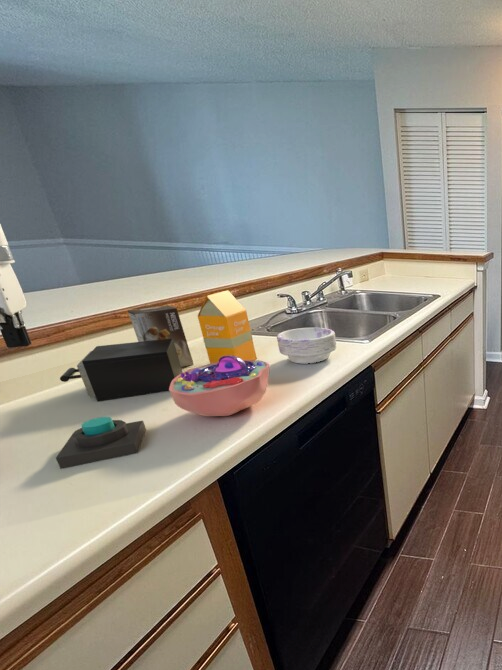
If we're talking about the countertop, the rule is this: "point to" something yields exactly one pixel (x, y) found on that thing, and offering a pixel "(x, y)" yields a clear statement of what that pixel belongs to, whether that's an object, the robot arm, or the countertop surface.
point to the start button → (97, 425)
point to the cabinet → (132, 368)
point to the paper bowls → (307, 344)
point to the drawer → (70, 375)
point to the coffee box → (161, 328)
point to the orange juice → (225, 327)
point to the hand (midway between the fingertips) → (19, 345)
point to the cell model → (221, 386)
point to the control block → (102, 444)
